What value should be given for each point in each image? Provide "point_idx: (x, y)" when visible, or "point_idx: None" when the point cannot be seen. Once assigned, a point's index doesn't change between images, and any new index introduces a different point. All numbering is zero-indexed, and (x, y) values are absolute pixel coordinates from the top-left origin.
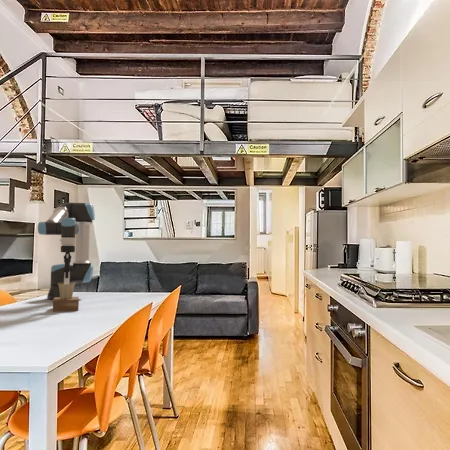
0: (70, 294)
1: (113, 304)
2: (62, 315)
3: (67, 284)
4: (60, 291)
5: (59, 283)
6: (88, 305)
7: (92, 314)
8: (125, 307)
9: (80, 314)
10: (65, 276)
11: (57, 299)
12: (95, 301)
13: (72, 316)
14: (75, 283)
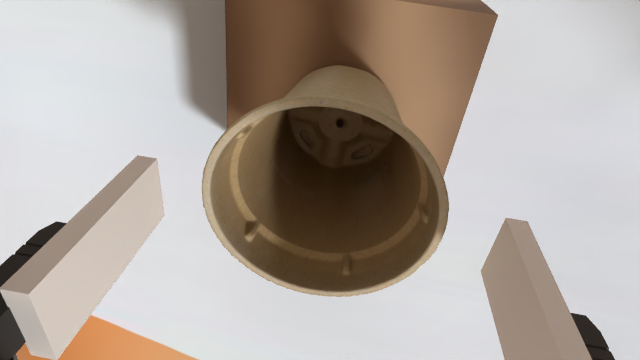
0: (284, 168)
1: (417, 346)
2: (68, 22)
3: (206, 199)
4: (297, 89)
5: (393, 129)
6: (460, 244)
7: (92, 190)
8: (284, 353)
9: (98, 135)
10: (27, 242)
11: (300, 31)
12: (626, 314)
13: (27, 79)
14: (291, 287)
